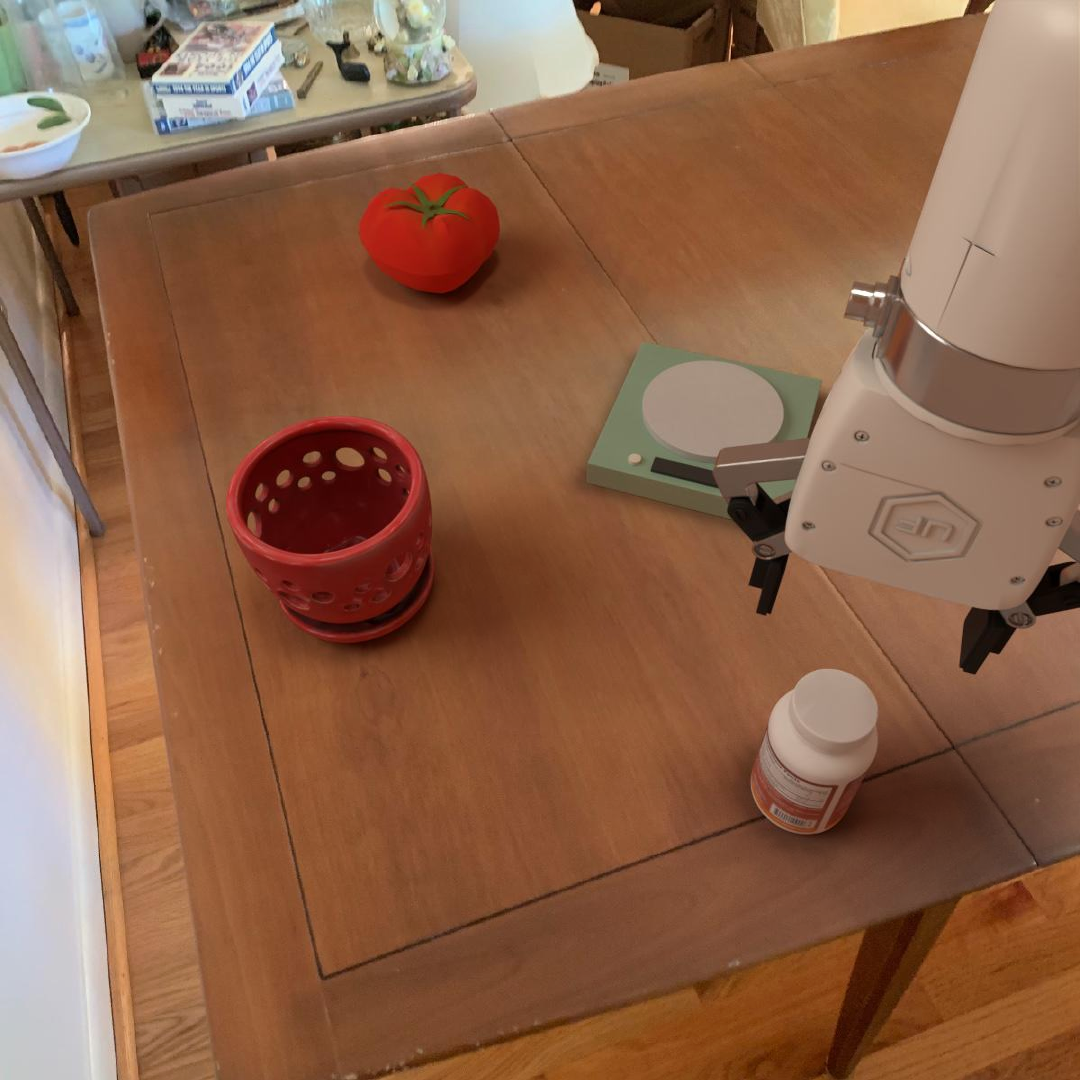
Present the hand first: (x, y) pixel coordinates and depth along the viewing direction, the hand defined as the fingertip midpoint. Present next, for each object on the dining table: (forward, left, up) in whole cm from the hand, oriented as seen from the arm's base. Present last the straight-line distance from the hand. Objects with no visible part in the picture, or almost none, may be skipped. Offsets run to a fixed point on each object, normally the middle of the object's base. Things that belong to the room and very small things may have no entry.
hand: (866, 620), depth 47 cm
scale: (+13, -29, -19) cm, 37 cm away
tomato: (+44, -43, -19) cm, 64 cm away
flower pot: (+34, -5, -19) cm, 39 cm away
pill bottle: (0, 0, -19) cm, 19 cm away
